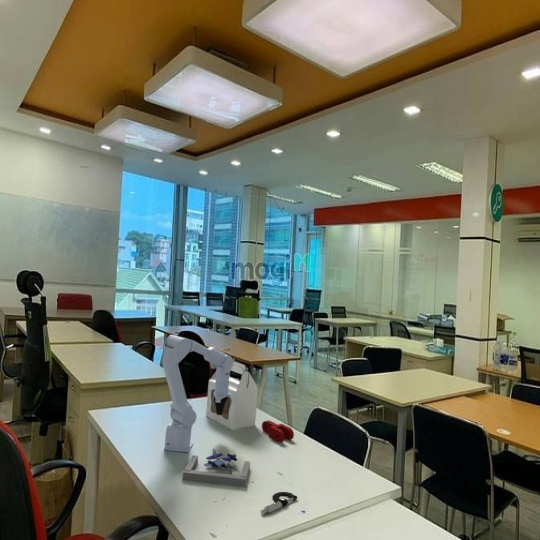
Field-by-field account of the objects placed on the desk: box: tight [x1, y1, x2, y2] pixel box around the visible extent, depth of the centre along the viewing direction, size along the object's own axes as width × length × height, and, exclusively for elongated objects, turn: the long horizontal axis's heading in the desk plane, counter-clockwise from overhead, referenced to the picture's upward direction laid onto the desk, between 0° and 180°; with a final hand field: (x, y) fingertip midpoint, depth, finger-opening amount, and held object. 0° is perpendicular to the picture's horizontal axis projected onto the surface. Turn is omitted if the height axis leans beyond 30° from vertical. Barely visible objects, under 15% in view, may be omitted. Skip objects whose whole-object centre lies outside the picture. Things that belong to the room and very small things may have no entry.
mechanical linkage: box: [261, 419, 295, 444], centre depth 176 cm, size 16×7×5 cm, turn 41°
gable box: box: [205, 360, 259, 431], centre depth 191 cm, size 22×13×28 cm, turn 43°
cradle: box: [182, 455, 251, 488], centre depth 138 cm, size 21×13×2 cm, turn 87°
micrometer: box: [260, 491, 298, 516], centre depth 123 cm, size 15×7×2 cm, turn 133°
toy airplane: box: [203, 448, 239, 475], centre depth 142 cm, size 13×14×4 cm
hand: (219, 414), depth 170 cm, fingers closed
